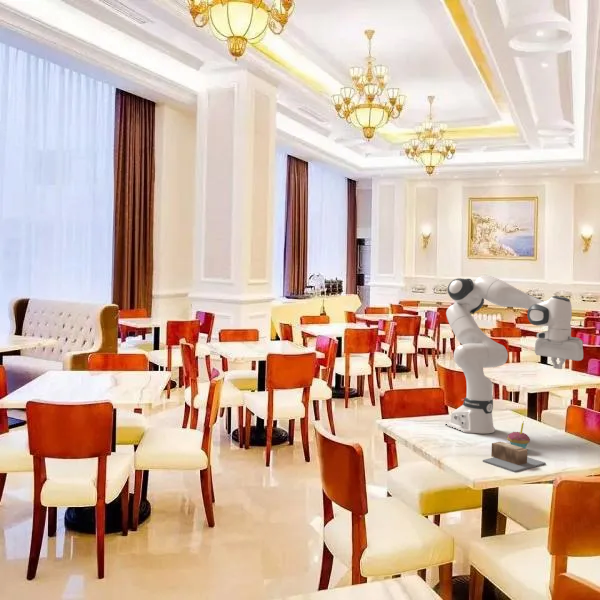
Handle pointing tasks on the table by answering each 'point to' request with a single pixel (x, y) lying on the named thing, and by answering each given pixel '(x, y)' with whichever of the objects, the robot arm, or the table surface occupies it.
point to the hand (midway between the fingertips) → (557, 368)
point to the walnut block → (509, 453)
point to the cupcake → (519, 438)
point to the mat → (512, 466)
